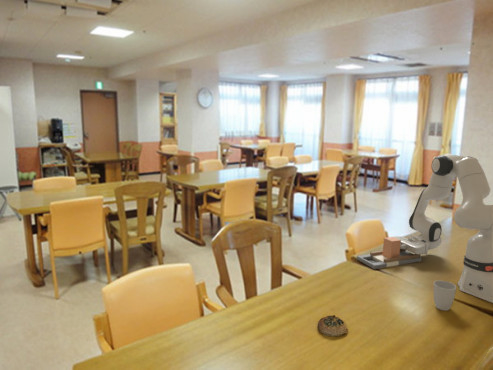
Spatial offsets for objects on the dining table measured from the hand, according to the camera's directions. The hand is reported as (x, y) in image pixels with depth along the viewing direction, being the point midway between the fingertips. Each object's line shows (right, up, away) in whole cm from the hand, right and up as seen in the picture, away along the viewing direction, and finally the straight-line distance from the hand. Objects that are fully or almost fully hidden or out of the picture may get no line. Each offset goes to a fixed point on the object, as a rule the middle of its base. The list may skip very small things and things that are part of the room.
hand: (396, 246), depth 201 cm
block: (-3, -6, 0) cm, 6 cm away
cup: (-1, -17, -50) cm, 53 cm away
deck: (-3, -8, 0) cm, 8 cm away
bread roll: (-50, -20, -66) cm, 85 cm away
